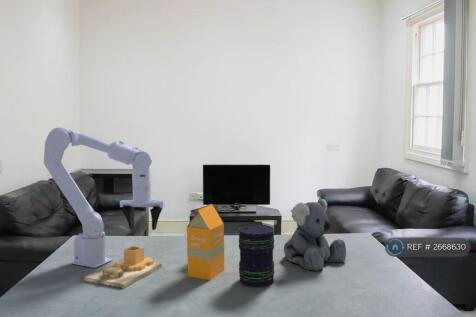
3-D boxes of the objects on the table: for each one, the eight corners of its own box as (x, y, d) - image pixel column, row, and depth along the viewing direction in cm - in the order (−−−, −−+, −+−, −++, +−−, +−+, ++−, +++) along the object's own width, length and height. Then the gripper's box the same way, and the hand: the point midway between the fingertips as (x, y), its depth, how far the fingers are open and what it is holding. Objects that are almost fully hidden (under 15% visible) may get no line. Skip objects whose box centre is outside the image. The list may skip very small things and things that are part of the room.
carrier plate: (84, 280, 128) (83, 266, 127) (124, 261, 144) (124, 248, 144) (123, 288, 122) (123, 273, 122) (161, 267, 138) (161, 253, 138)
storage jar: (278, 276, 129) (278, 225, 128) (269, 289, 120) (269, 235, 119) (245, 273, 133) (244, 223, 131) (234, 285, 123) (233, 232, 122)
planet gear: (110, 267, 135) (109, 251, 134) (131, 257, 144) (130, 242, 143) (137, 272, 131) (137, 255, 130) (157, 261, 140) (157, 245, 139)
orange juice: (224, 270, 135) (224, 204, 133) (210, 280, 127) (209, 210, 125) (202, 266, 139) (200, 202, 137) (187, 276, 131) (185, 208, 129)
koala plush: (315, 274, 131) (315, 208, 129) (270, 259, 145) (270, 199, 142) (350, 261, 142) (351, 200, 140) (306, 248, 156) (306, 192, 154)
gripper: (115, 189, 143) (116, 231, 145) (158, 190, 141) (160, 232, 142) (124, 185, 150) (125, 225, 152) (166, 186, 148) (167, 227, 149)
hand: (143, 228), depth 147 cm, fingers open, 7 cm apart
